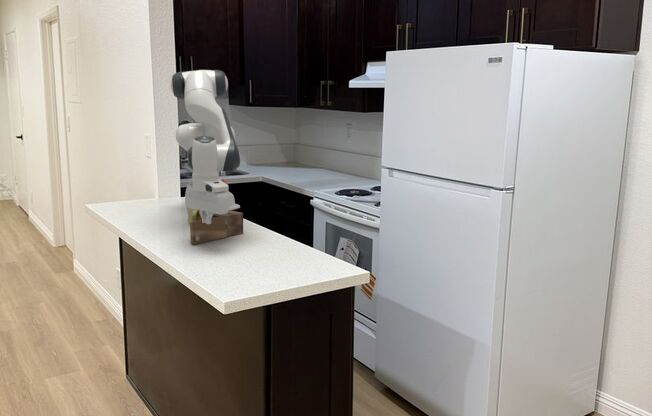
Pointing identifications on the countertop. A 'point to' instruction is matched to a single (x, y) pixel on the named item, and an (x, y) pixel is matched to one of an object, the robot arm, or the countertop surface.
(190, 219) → the mug
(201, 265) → the countertop surface
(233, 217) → the cabinet
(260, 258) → the countertop surface
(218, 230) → the door
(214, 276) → the countertop surface
